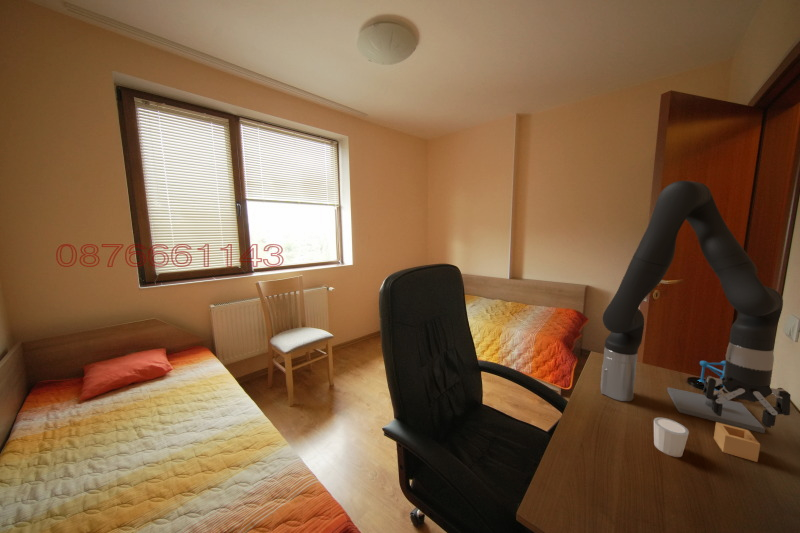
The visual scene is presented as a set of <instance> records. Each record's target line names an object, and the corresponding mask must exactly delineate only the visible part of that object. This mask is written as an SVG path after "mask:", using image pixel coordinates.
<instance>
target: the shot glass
mask: <svg viewBox="0 0 800 533" xmlns="http://www.w3.org/2000/svg"><path fill="white" fill-rule="evenodd" d="M689 434H690V431H689V429H688V428H687V427H686V426H684V425H683V424H681V423H679V422H677V421H675V420H673V419H671V418H666V417H655V418H654V419H653V444H654V447H655V448H656V449H657V450H659V451H660V452H662V453H664V454H665V455H668V456H671V457H674V458H681V457H683V453H684V450H685V447H686V445H687V441H688V438H689V437H688V436H689Z"/></svg>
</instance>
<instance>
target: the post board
mask: <svg viewBox="0 0 800 533" xmlns="http://www.w3.org/2000/svg"><path fill="white" fill-rule="evenodd" d="M666 391H667V393H668V394H669V397H670V398H671V400H672V402H673V405H674V407H676V409H677V411H678V413H681V414H684V415H688V416H692V417H696V418H697V417H698V418H701V419H705V420H708V421H713V422H715V423H716V422H718V423H722V424H726V425H730V426H734V427H738V428H742V429H746V430H749V431H753V432H757V433H761V434H766V432H765V431H766V427H765V426H764V425H763V424H762V423H761V422H760V421H759V420H758V419H757V418H756V417H755V416H754V414H752V412H750V411H749V409H748V408H747V407H746V406H745V405H744V404H743V403H742V402H739V401H733V400H726V401H724V402H722V404H723V406H722V414H721V416H717V415H716V414H715V413H714V412H713V410H712V407H709V406H707V405H706V404H705V403H706V396H705V395H704V394H701V393H697V392H691V391H687V390H682V389H677V388H674V387H669V386H667V390H666Z"/></svg>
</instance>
